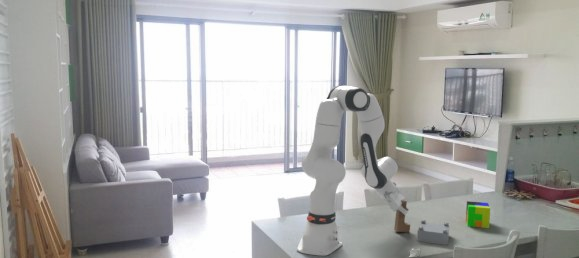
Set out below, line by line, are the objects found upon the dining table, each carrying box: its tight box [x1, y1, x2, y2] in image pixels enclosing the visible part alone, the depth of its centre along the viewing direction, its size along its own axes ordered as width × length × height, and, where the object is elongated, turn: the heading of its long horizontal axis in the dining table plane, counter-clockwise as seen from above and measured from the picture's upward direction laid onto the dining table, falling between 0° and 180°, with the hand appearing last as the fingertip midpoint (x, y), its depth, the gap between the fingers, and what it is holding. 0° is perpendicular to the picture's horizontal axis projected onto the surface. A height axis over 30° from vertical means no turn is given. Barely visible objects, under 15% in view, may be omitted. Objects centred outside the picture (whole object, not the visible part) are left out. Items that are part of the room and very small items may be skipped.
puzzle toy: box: [465, 200, 491, 229], centre depth 241 cm, size 10×10×10 cm
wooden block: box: [393, 199, 411, 233], centre depth 228 cm, size 7×3×15 cm, turn 102°
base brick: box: [416, 219, 450, 246], centre depth 220 cm, size 13×13×6 cm
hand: (406, 212), depth 227 cm, fingers open, 3 cm apart
